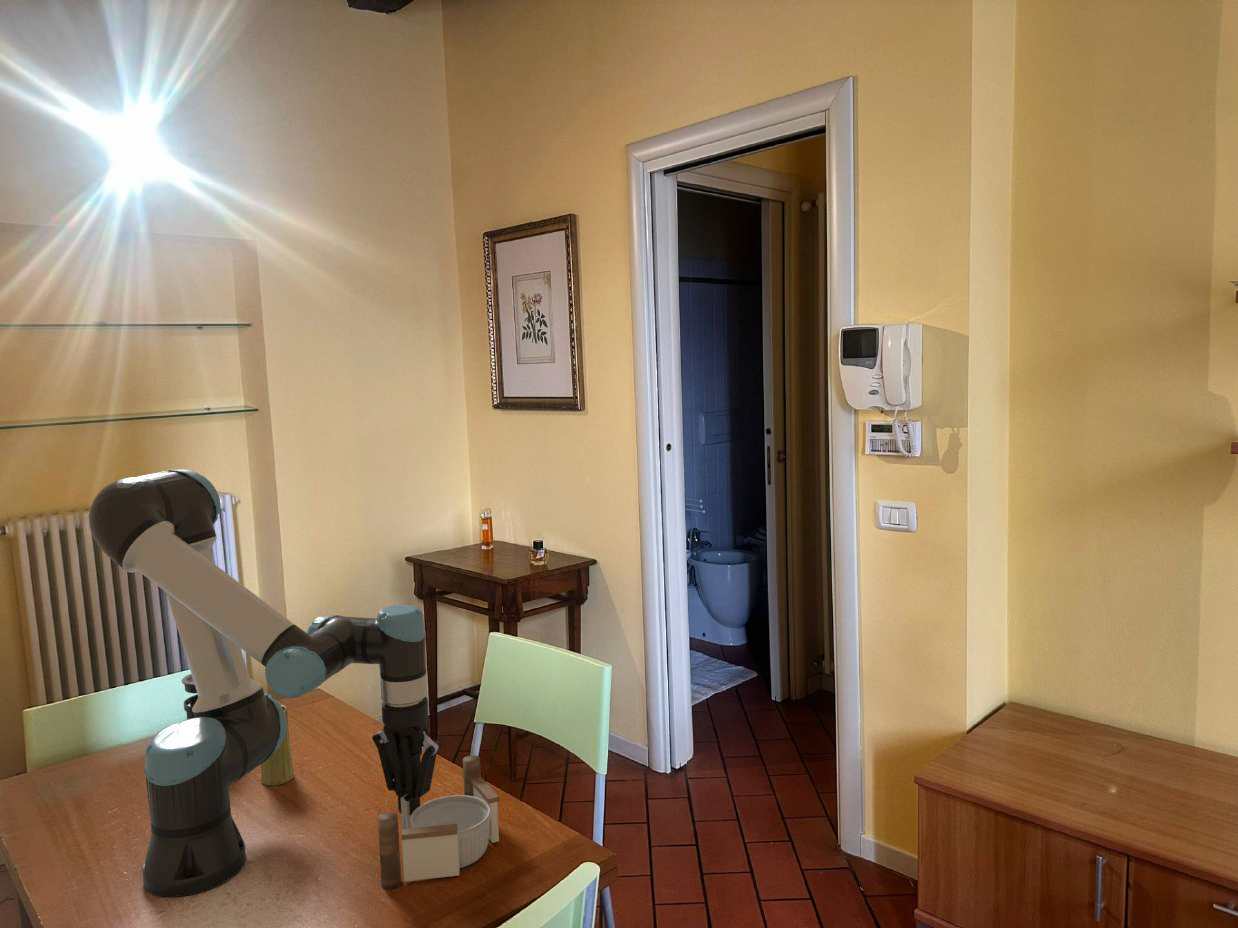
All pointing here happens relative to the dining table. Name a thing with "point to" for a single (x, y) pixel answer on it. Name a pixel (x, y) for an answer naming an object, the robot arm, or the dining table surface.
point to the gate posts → (391, 833)
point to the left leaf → (430, 852)
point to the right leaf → (491, 798)
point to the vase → (279, 763)
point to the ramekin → (458, 822)
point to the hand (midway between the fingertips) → (410, 830)
